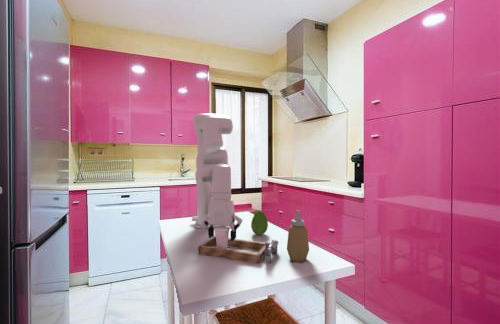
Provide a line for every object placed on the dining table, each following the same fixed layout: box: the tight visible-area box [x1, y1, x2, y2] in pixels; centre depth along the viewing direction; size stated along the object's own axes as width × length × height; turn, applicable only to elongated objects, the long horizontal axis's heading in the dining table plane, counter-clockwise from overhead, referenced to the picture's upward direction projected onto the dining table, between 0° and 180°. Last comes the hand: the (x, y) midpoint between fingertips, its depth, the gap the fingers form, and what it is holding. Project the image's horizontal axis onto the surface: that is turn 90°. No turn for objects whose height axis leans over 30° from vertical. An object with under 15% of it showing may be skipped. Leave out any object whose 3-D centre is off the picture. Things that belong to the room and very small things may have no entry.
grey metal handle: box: [264, 239, 279, 264], centre depth 93 cm, size 2×12×8 cm, turn 160°
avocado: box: [250, 209, 269, 236], centre depth 120 cm, size 8×8×12 cm
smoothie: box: [214, 225, 231, 249], centre depth 101 cm, size 6×6×14 cm
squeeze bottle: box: [286, 209, 310, 263], centre depth 92 cm, size 8×8×18 cm
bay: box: [197, 235, 271, 265], centre depth 99 cm, size 25×13×3 cm, turn 70°
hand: (222, 238), depth 101 cm, fingers open, 9 cm apart
